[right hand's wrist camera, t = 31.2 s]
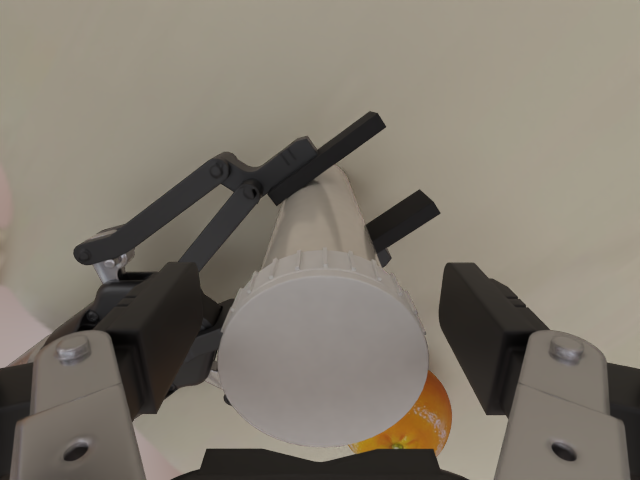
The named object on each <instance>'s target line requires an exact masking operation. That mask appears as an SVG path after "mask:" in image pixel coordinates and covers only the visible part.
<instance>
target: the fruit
mask: <svg viewBox="0 0 640 480" xmlns="http://www.w3.org/2000/svg"><path fill="white" fill-rule="evenodd" d="M451 423H452V411H451V405H450V401H449V398H448V395H447V393H446V391H445V389H444V387H443V385H442V383H441V382H440V381H439V380H438V379H437V377H436V376H435V375H434V374H433V373H432V372H430V371H429V370H428V373H427V379H426V382H425V385H424V387H423V390H422V392H421V394H420V396H419V398H418V400H417V401H416V402H415V404H414V405H413V407H412V408H411V409H410V410H409V411H408V412H407V413H406V415H405V416H404V417H403V418H401V419H400V420H399V421H398V422H397V423H395V424H394V425H393V426H391V427H390V428H388V429H387V430H385V431H384V432H382V433H380V434H378V435H376V436H374V437H371V438H369V439H366V440H363V441H360V442H357V443H353V444H349V445H348V446H349V447H350V449H351V450H352V451H353V452H354V453H355V454H358V453H363V452H367V451H371V450H375V449H434V452H435V455H436V457H437V456H438V454H439V453H440V452H441V451H442V449H443V448H444V446H445V444H446V442H447V439H448V436H449V433H450V429H451Z"/></svg>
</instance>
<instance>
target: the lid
mask: <svg viewBox="0 0 640 480" xmlns="http://www.w3.org/2000/svg"><path fill="white" fill-rule="evenodd" d="M221 332H223V335H222V337H221V341H220V345H219V349H218V358H217V364H218V374H219V378H220V382H221V385H222V388H223V390H224V393H225V395H226V397H227V398H228V400H229V402H230V403H231V405H232V406H233V407H234V409H235V410H236V411H237V412H238V413H239V414H240V415H241V416H242V417H243V418H244V419H245V420H246V421H247V422H248V423H250V424H251V425H252V426H254V427H255V428H256V429H258V430H260V431H262V432H263V433H265V434H267V435H269V436H271V437H274V438H276V439H278V440H281V441H284V442H287V443H292V444H296V445H301V446H309V447H337V446H343V445H349V444H353V443H357V442H360V441H363V440H366V439H369V438H371V437H374V436H376V435H378V434H380V433H382V432H384V431H385V430H387V429H388V428H390V427H391V426H393V425H394V424H395V423H397V422H398V421H399V420H400V419H401V418H403V417H404V416H405V415H406V413H407V412H408V411H409V410H410V409H411V408H412V407H413V405H414V404H415V402H416V401H417V400H418V398H419V396H420V394H421V392H422V390H423V387H424V385H425V382H426V379H427V373H428V368H429V353H428V346H427V342H426V339H425V336H424V335H426V332H425V329H424V327H423V325H422V323H421V321H420V319H419V316H418V312H417V310H416V308H415V306H414V304H413V301H412V299H411V297H410V295H409V293H408V291H407V290H406V291H403V289H402V288H401V286H400V285H399V283H398V281H397V279H396V277H395V275H394V274H393V273H391V274H389V273H387V272H386V271H385V270H384V269H382V268H381V267H379V266H378V265H377V263H376V261H375V260H373V259H372V260H371V261H369V260H367V259H364V258H362V257H360V256H357V255H353V251H348V253H346V252H340V251H332V250H327V247H323V250H315V251H306V252H301V250H297V253H296V254H293V255H290V256H287V257H284V258H281V259H279V260H278V259H277V258H275V259H273V262H272V263H271V264H270V265H268V266H267V267H265V268H264V269H262V270H261V271H259V272H257V271H255V272H254V273H253V275H252V278H251V280H250V281H249V282H248V283H247V284H246V286H245V287H244V288H243V289H242V288H240V289H239V290H238V293H237V295H236V297H235V300H234V302H233V305H232V307H230V310H229V312H228V314H227V317H226V319H225V322H224V324H223V326H222V329H221Z"/></svg>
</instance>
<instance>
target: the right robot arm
mask: <svg viewBox="0 0 640 480" xmlns="http://www.w3.org/2000/svg"><path fill="white" fill-rule="evenodd" d="M202 321H203V304H202V296H201V288H200V281H199V273H198V268H197V265H196V263H194V262H168V263H167V264H166V265H165V266H164V267H163V268H162V269H161V270H160V272H159V273H158V274H157V275H156V276H155V277H154V278H149V279H147V280H145V281H144V282H142V283H140V284H138V285H136V286H134V288H133V289H132V290H131V291H130V292H129V293H128V294H127V295H126V296H125V298H123V299H122V300H121V301H120V302H119V303H118V304H117V307H114V308H113V309H112V310H111V311H110V312H109V313H108V314H107V315H106V316H105V317H104V318H103V319H102V320H101V321H100V322H99V323H98V324H97V325H96V326H95V327H94V328H93V329H92V330H87V331H80V332H76V333H72V334H69V335H66V336H63V337H61V338H58V339H56V340H54V341H53V342H51V343H49V344H48V345H46V346H45V347H43V348H42V349H41V350H40V351H39V352H38V353H37V354H36V356H35V358H34V361H33V362H32V363H26V364H21V365H16V366H11V367H6V368H0V480H146V476H145V472H144V468H143V464H142V460H141V456H140V452H139V448H138V444H137V440H136V436H135V432H134V428H133V424H132V422H133V420H134V419H135V417H136V415H137V414H157V412H158V410H159V408H160V406H161V404H162V402H163V400H164V398H165V396H166V394H167V392H168V390H169V389H170V387H171V385H172V383H173V381H174V379H175V377H176V375H177V373H178V371H179V369H180V367H181V365H182V363H183V361H184V360H185V358H186V356H187V354H188V352H189V350H190V348H191V346H192V344H193V342H194V340H195V338H196V336H197V334H198V332H199V330H200V328H201V326H202ZM439 322H440V326H441V329H442V331H443V333H444V335H445V337H446V339H447V341H448V343H449V345H450V346H451V348H452V350H453V352H454V354H455V356H456V358H457V360H458V362H459V364H460V366H461V367H462V369H463V371H464V373H465V375H466V377H467V379H468V381H469V383H470V385H471V387H472V388H473V390H474V392H475V394H476V396H477V398H478V400H479V402H480V404H481V406H482V407H483V409H484V411H485V413H486V415H506V416H507V418H508V424H507V428H506V432H505V436H504V440H503V444H502V448H501V452H500V456H499V460H498V464H497V468H496V472H495V476H494V480H640V369H637V368H632V367H627V366H622V365H617V364H611V363H607V361H606V358H605V356H604V354H603V353H602V352H601V351H600V350H599V349H598V348H597V347H595V346H594V345H592V344H591V343H589V342H587V341H586V340H584V339H582V338H579V337H577V336H574V335H571V334H568V333H564V332H560V331H553V330H550V329H549V328H548V327H547V326H546V325H545V324H544V323H543V322H542V321H541V320H540V319H539V318H538V317H537V316H536V315H535V314H534V313H533V312H532V311H531V310H530V309H529V308H528V307H526V305H525V304H524V303H523V302H522V301H521V300H520V299H518V297H517V296H516V295H515V294H514V293H513V292H512V291H511V290H510V289H509V288H508V287H507V286H505V285H503V284H501V283H500V282H498V281H496V280H494V279H489V278H488V277H487V276H486V275H485V274H484V273H483V272H482V271H481V270H480V269H479V267H478V266H477V265H476V264H475V263H447V264H446V266H445V268H444V274H443V281H442V289H441V296H440V304H439ZM171 480H469V479H467V478H465V477H462V476H460V475H457V474H454V473H451V472H449V471H445V470H442V469H440V468H439V464H438V461H437V458H436V455H435V452H434V449H375V450H371V451H367V452H363V453H358V454H354V455H350V456H346V457H342V458H338V459H334V460H330V461H326V462H314V461H310V460H306V459H302V458H298V457H294V456H290V455H286V454H282V453H277V452H273V451H269V450H265V449H206V452H205V455H204V458H203V461H202V464H201V468H200V469H199V470H195V471H191V472H189V473H186V474H183V475H180V476H178V477H175V478H173V479H171Z"/></svg>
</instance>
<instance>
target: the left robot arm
mask: <svg viewBox="0 0 640 480" xmlns="http://www.w3.org/2000/svg"><path fill="white" fill-rule="evenodd" d="M384 128H386V126H385V124H384V122H383V121H382V119H381V118H380V116H379V115H378V113H375V112H371V111H370V112H368V113H367V114H365V115H364V116H363V117H361V118H360V119H359V120H357V121H356V122H355V123H353V124H352V125H351V126H349V127H348V128H347V129H345V130H344V131H342V132H341V133H340V134H338V135H337V136H336V137H334V138H333V139H332V140H330V141H329V142H328V143H326V144H325V145H323V146H322V147H321V148H319V149H318V150H317V149H316V147H315V146H314V144H313V143H312V142H311V140H310V139H309V137H308V136H305V137H301V138H297V139H296V140H295V141H294V142H292V143H291V144H290V145H288V146H287V147H286V148H284V149H283V150H282V151H280V152H279V153H278V154H276V155H275V156H274V157H272V158H271V159H270V160H268V161H267V162H266V163H264V164H263V165H261V166H259V167H250V166H247V165H246V164H244V163H243V162H241V161H239V160H238V159H237V157H236V156H235V155H234V154H233V153H230V152H223V153H221V154H219V155H217V156H215V157H214V158H212V159H210V160H209V161H207V162H206V163H205V164H203V165H202V166H201V167H199V168H198V169H197V170H196V171H194V172H193V173H192V174H190V175H189V176H188V177H186V178H185V179H184V180H182V181H181V182H180V183H179V184H177V185H176V186H175V187H173V188H172V189H171V190H169V191H168V192H167V193H165V194H164V195H163V196H162V197H160V198H159V199H158V200H156V201H155V202H154V203H152V204H151V205H150V206H149V207H147V208H146V209H145V210H143V211H142V212H141V213H139V214H138V215H137V216H135V217H134V218H133V219H132V220H130V221H129V222H128V223H126V224H123V225H120V226H116V227H112V228H108V229H105V230H103V231H101V232H99V233H97V234H96V235H94V236H92V237H91V238H89V239H87V240H86V241H85V242H83V243H81V244H80V245H78V246H76V247H75V249H74V253H73V254H74V257H75V259H76V260H77V261H78V262H79V263H81V264H84V265H93V266H94V268H95V270H96V272H97V274H98V276H99V278H100V279H101V281H102V283H103V284H102V285H101V287H100V288H99V289H98V291H97V295H96V298H95V300H94V301H93V302H92V303H91V304H89V305H88V306H87V307H85V308H84V309H83V310H81V311H80V312H79V313H77V314H76V315H75V316H73V317H72V318H71V319H69V320H68V321H67V322H65V323H64V324H63V325H61V326H60V327H59V328H57V329H56V330H55V331H54V332H53V333H52V334H50V335H48V336H47V337H45V338H44V339H43V340H41V341H40V342H39V343H37V344H36V345H35V346H33V347H32V348H31V349H29V350H28V351H27V352H25V353H24V354H23V355H21V356H20V357H19V358H17V359H16V360H15V361H13V362H12V363H11V364H9V365H8V366H7V367H11V366H16V365H21V364H26V363H32V362H33V361H34V358H35V356H36V354H37V353H38V352H39V351H40V350H41V349H42V348H43V347H45V346H46V345H48V344H49V343H51V342H53V341H54V340H56V339H58V338H61V337H63V336H66V335H69V334H72V333H76V332H80V331H87V330H92V329H93V328H94V327H95V326H96V325H97V324H98V323H99V322H100V321H101V320H102V319H103V318H104V317H105V316H106V315H107V314H108V313H109V312H110V311H111V310H112V309H113V308H114V307H117V304H118V303H119V302H120V301H121V300H122V299H123V298H125V296H126V295H127V294H128V293H129V292H130V291H131V290H132V289H133V288H134V286H136V285H138V284H140V283H142V282H144V281H145V280H147V279H149V278H154V277H155V276H156V275H157V274H158V273H159V272H126V271H125V265H126V264H127V263H128V262H129V261H131V260H132V259H133V258H134V255H135V252H134V250H135V247H136V246H137V245H139V244H140V243H141V242H143V241H144V240H145V239H147V238H148V237H149V236H151V235H152V234H153V233H155V232H156V231H158V230H159V229H160V228H162V227H163V226H164V225H166V224H167V223H168V222H170V221H171V220H172V219H174V218H175V217H176V216H178V215H179V214H180V213H182V212H183V211H184V210H186V209H187V208H188V207H190V206H191V205H193V204H194V203H195V202H197V201H198V200H199V199H201V198H202V197H203V196H205V195H206V194H207V193H209V192H210V191H211V190H213V189H214V188H215V187H217V186H218V185H219V184H222V185H224V186H225V187H227V188H229V189H230V190H232V191H233V192H234V193H233V194H232V196H231V197H230V198H229V199H228V201H227V202H226V203H225V204H224V205H223V207H222V208H221V209H220V210H219V212H218V213H217V214H216V215H215V217H214V218H213V219H212V220H211V222H210V223H209V224H208V225H207V226H206V228H205V229H204V230H203V231H202V233H201V234H200V235H199V236H198V238H197V239H196V240H195V241H194V243H193V244H192V245H191V246H190V247H189V249H188V250H187V251H186V252H185V254H184V255H183V256H182V257H181V259H180V260H179V261H178V262H194V263H196V265H197V268H198V273H199V272H200V270H201V269H202V268H203V267H204V266H205V264H206V263H207V262H208V261H209V260H210V258H211V257H212V256H213V255H214V254H215V253H216V251H217V250H218V249H219V248H220V247H221V245H222V244H223V243H224V242H225V241H226V239H227V238H228V237H229V236H230V235H231V233H232V232H233V231H234V230H235V229H236V228H237V226H238V225H239V224H240V223H241V222H242V220H243V219H244V218H245V217H246V216H247V214H248V213H249V212H250V211H251V210H252V208H253V207H254V206H255V205H256V204H258V202H259V200H260V198H261V197H263V196H264V195H266V194H267V193H268V196H269V197H270V198H271V200H272V201H273V202H274V203H275V205H276V206H277V205H279V204H280V203H281V202H283V201H284V200H286V199H287V198H288V197H290V196H291V195H293V194H294V193H295V192H297V191H298V190H300V189H301V188H302V187H304V186H305V185H306V184H308V183H309V182H311V181H312V180H313V179H315V178H316V177H318V176H319V175H320V174H322V173H323V172H325V171H326V170H327V169H329V168H330V167H331V166H333V165H334V164H336V163H337V162H338V161H340V160H341V159H343V158H344V157H345V156H347V155H348V154H350V153H351V152H352V151H354V150H355V149H356V148H358V147H359V146H361V145H362V144H363V143H365V142H366V141H368V140H369V139H370V138H372V137H373V136H375V135H376V134H377V133H379V132H380V131H381V130H383V129H384ZM439 214H440V212H439V210H438V208H437V207H436V205H435V204H434V202H433V201H432V200H431V199H430V198H429V197H428V196H426V195H425V194H424V193H423V192H422V191H421V190H420V189H419V190H418V191H416V192H415V193H413V194H412V195H410V196H409V197H407V198H406V199H404V200H403V201H401V202H400V203H398V204H397V205H395V206H394V207H392V208H391V209H389V210H388V211H386V212H385V213H383V214H382V215H380V216H379V217H377V218H376V219H374V220H373V221H371V222H369V223H368V224H366V227H367V230H368V232H369V235H370V237H371V240H372V243H373V245H374V248H375V251H376V253H377V256H378V259H379V261H380V264H381V266H382V268H383V267H384V266H386V265H387V263H388V262H389V261H390V260H391V256H390V253H389V251H388V249H387V247H389V246H390V245H392V244H394V243H395V242H397V241H398V240H400V239H401V238H403V237H404V236H406V235H408V234H409V233H411V232H412V231H414V230H415V229H417V228H419V227H420V226H422V225H423V224H425V223H426V222H428V221H429V220H431V219H433V218H434V217H436V216H437V215H439ZM201 296H202V304H203V321H202V326H201V328H200V330H199V332H198V334H197V336H196V338H195V340H194V342H193V344H192V346H191V348H190V350H189V352H188V354H187V356H186V358H185V360H184V361H183V363H182V365H181V367H180V369H179V371H178V373H177V375H176V377H175V379H174V381H173V383H172V385H171V387H170V389H169V390H168V392H167V394H166V396H165V398H164V400H165V399H166V398H167V397H169V396H170V395H171V394H172V393H174V392H175V391H176V390H177V389H179V388H181V387H185V386H192V385H198V384H200V383H202V382H204V381H206V382H208V383H210V384H212V385H214V386H216V387H218V388H220V389H222V390H223V388H222V385H221V382H220V378H219V374H218V364H217V361H215V357H216V354H217V350H218V349H219V345H220V341H221V337H222V335H223V332H221V329H222V326H223V324H224V322H225V319H226V317H227V314H228V312H229V310H230V307H232V305H233V302H234V300H235V299H229V300H227V301H224V302H222V303H219V304H217V303H216V302H215V301H214V300H212V299H210V298H209V297H207V296H206V295H205V294H204V293H203V291H202V290H201ZM5 368H6V367H5ZM224 401H225V402H226V403H227V404H228V405H231V403H230V402H229V400H228V398H227V397H226V395H224ZM231 406H232V405H231ZM140 415H141V414H137V415H136V417H135V418H137V417H138V416H140Z"/></svg>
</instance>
